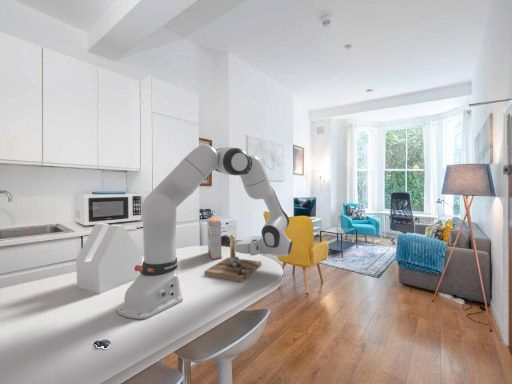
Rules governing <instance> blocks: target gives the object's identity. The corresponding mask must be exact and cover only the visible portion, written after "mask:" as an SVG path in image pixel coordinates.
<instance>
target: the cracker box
mask: <svg viewBox="0 0 512 384" xmlns="http://www.w3.org/2000/svg"><path fill="white" fill-rule="evenodd" d="M206 219H207V247H208V249H207V251H208V253H209V256H210V259H211V260H216V259H221V258H222V224H221V223H222V222H221V220H220V219H219V218H218V217H207V218H206Z"/></svg>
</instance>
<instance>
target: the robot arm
mask: <svg viewBox="0 0 512 384" xmlns="http://www.w3.org/2000/svg"><path fill="white" fill-rule="evenodd" d="M213 171H216V172H219V173H220V174H221V173H222V174H224V175H227V176H228V175H229V176H239V178H240V179H241V182H242V185H243V187H244V190H245V192H246V194H247V195H248V197H249V198H251V199H253V200H263V201H264V203H265V206H266V207H267V210H268V212H269V217H268V219H267V221H266V222H265V224H264V225H263V227H262V229H261V235H258V234H257V235H250V236H248V237H246V238H244V239H235V241H234V245H235V253H239V254H244V255H248V254H249V256H256V255H271V256H275V257H276V256H277V257H287V256H289V255H290V254H291V252H292V249H293V240H292V239H290V238H289V237H288V236H287V235H286V232H285V231H286V229H287V228H288V227H289V224H290V218H289V216H288V214H287V213H286V212H285V211H284V209H283V208H282V205H281V204H280V201H279V199H278V196H277V194H276V192H275V190H274V188H273V187H272V185H271V183H270V181H269V178H268V174H267V173H266V170H265V168H264V165H263V164H262V162H261V160H260V158H259V157H257V155H249V154H248V153H247V152H246V151H245V150H243V149H242V148H239V147H229V146H228V147H220V148H217V149H216V148H214V147H213V146H211V145H209V144H206V143H204V144H203V143H201V144H199V145H198V146H196V147H195V148H194V149H193V150H191V151H190V152H189V153H188V154H186V156H185V157H184V158H183V159H181V161H180V162H179V163H178V164H177V165H176V166H175V167H174V169H172V171H170V173H168V175H167V176H166V177H165V178H164V179H162V180H161V181H160V183H159V184H158V185H156V187H155V188H153V189H152V191H151V192H150V193H149V194H148V195H146V197H145V198H144V199H143V201H142V207H141V209H142V233H143V234H142V237H143V238H142V239H143V260H142V266H139V265H136V266H135V267H134V269H135V271H139V272H140V275H139V276H138V277H137V278H136V280H133V281H132V283H131V284H130V285H129V287H128V288H127V289H126V291H125V293H124V294H125V295H124V299H123V301H124V302H123V303H121V304H120V305H118V306H117V307H116V313H117V314H118V315H121V316H123V317H126V318H130V319H137V320H139V319H141V320H143V319H148V318H150V317H152V316H154V315H157V314H158V313H160V312H163V311H165V310H166V309H169V308H170V307H172V306H175V305H177V304H179V303H180V302H182V301H183V298H184V297H183V296H182V291H181V285H180V279H179V275H178V271H177V269H178V257H177V256H176V255H177V254H176V253H177V251H176V232H177V231H176V230H177V208H178V207H179V205H181V204H182V203H183V202H184V201H185V200H186V199H187V198H189V196H191V195H192V194H193V193H194V192H195V191H196V190H197V189H198V187H199V186H200V185H201V184H203V182H204V181H205V180H206V179H207V178H208V176H209V175H210V174H211V173H212V172H213Z"/></svg>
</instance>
